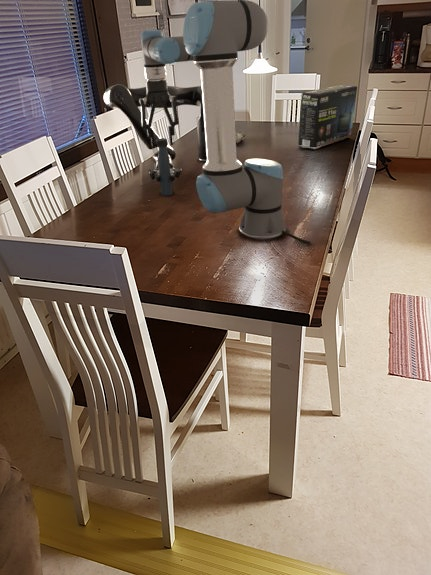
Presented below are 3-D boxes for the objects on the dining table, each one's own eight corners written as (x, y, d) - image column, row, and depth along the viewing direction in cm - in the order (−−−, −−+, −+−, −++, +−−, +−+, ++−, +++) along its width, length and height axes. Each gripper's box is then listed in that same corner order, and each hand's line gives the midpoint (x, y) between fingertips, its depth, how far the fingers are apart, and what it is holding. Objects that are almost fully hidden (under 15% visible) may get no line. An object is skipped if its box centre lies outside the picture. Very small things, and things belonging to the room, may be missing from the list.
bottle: (170, 190, 188) (165, 139, 177) (174, 194, 184) (169, 142, 173) (159, 192, 186) (154, 141, 176) (162, 196, 182) (157, 143, 172)
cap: (169, 145, 176) (169, 139, 174) (162, 147, 173) (161, 141, 172) (162, 144, 178) (161, 137, 177) (154, 146, 175) (154, 140, 174)
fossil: (236, 139, 242) (217, 121, 245) (225, 156, 248) (207, 138, 251) (252, 138, 255) (234, 121, 258) (242, 154, 262) (224, 137, 265)
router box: (314, 151, 231) (318, 94, 217) (296, 148, 237) (299, 92, 224) (352, 138, 251) (358, 85, 238) (335, 135, 258) (340, 83, 245)
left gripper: (146, 159, 191) (145, 171, 177) (180, 156, 192) (183, 168, 178) (148, 176, 195) (148, 189, 181) (182, 174, 196) (184, 187, 182)
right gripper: (130, 82, 158) (138, 150, 170) (184, 78, 162) (189, 145, 174) (127, 80, 164) (135, 145, 176) (180, 76, 169) (184, 140, 180)
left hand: (165, 179), depth 179 cm, fingers closed on bottle, 4 cm apart
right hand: (162, 145), depth 175 cm, fingers open, 6 cm apart
